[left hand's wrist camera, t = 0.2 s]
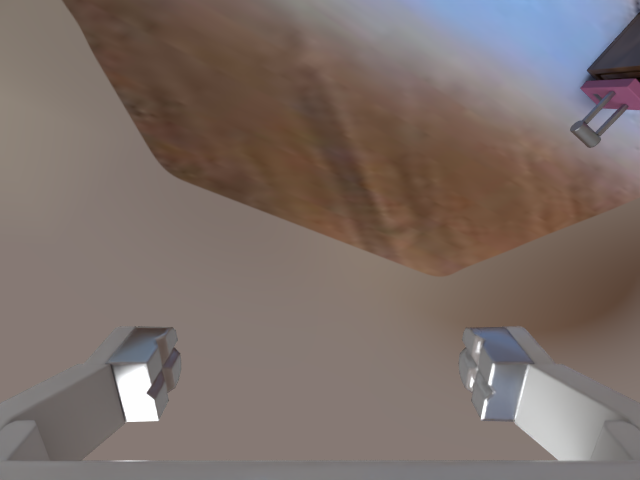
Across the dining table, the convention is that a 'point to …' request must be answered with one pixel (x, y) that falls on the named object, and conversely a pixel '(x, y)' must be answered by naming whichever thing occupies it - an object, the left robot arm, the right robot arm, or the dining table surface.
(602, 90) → the drawer
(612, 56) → the cabinet
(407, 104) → the dining table surface
